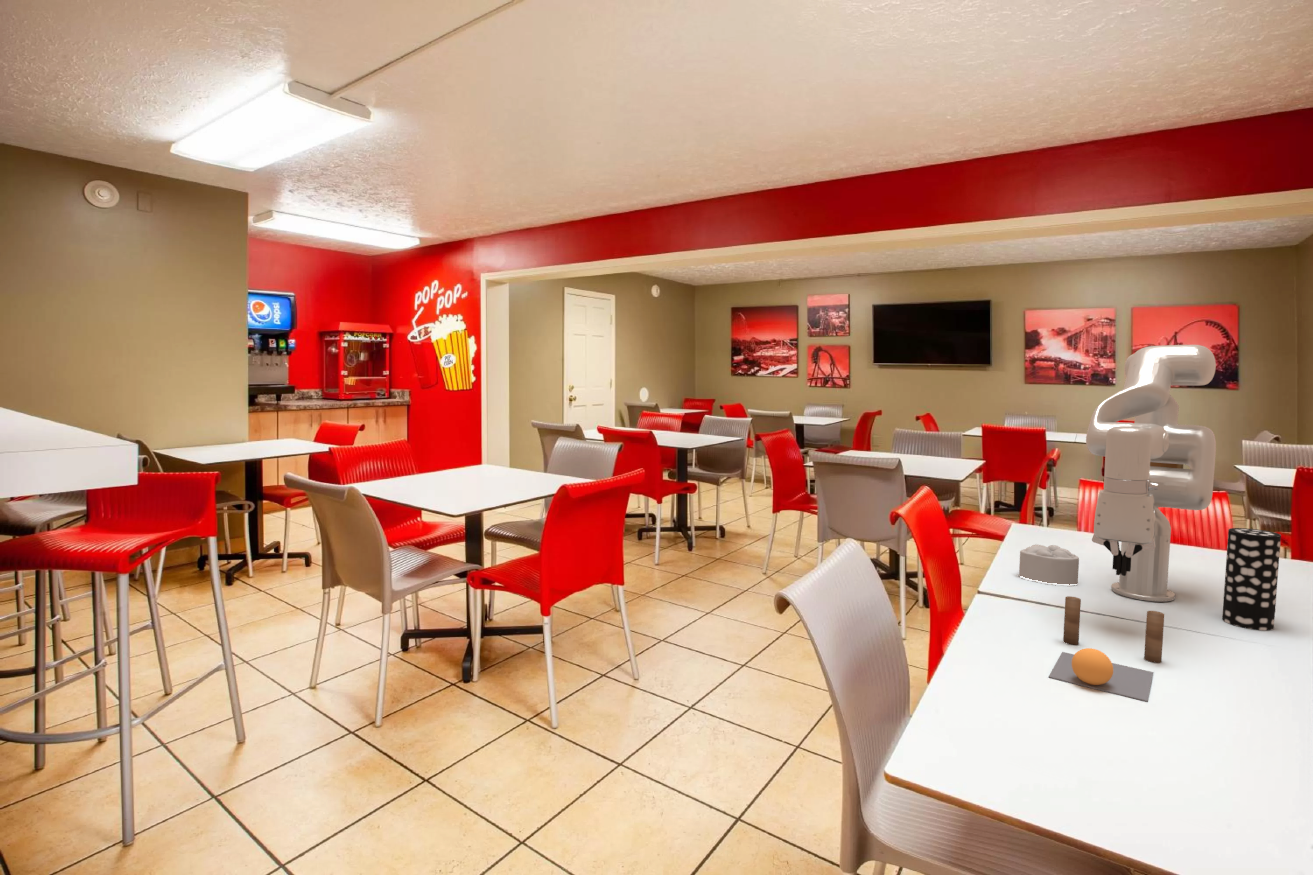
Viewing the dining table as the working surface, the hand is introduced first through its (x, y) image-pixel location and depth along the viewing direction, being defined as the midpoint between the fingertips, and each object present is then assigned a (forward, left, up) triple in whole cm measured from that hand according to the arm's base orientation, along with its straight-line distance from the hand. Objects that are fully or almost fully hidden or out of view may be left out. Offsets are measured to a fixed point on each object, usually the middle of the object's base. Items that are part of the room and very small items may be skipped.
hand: (1121, 573), depth 137 cm
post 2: (+14, +6, -12) cm, 19 cm away
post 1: (+14, -7, -12) cm, 19 cm away
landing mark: (+28, 0, -12) cm, 30 cm away
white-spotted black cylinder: (-24, +21, -13) cm, 34 cm away
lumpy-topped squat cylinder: (-33, -18, -13) cm, 40 cm away
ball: (+32, -1, -9) cm, 34 cm away
